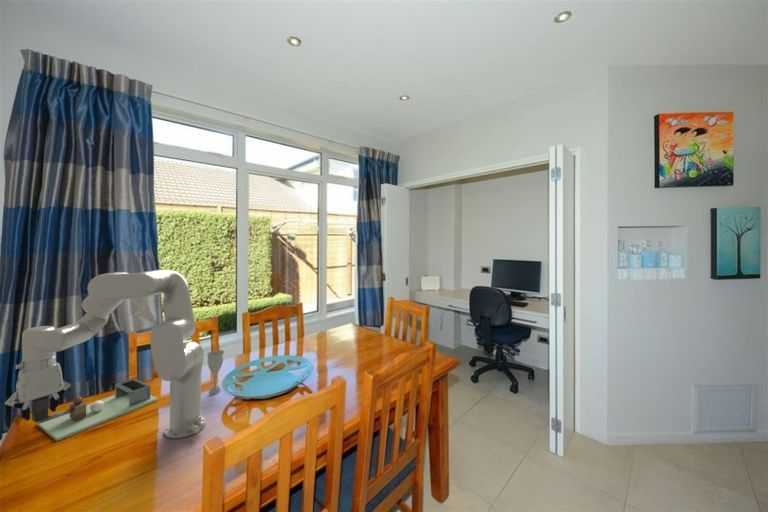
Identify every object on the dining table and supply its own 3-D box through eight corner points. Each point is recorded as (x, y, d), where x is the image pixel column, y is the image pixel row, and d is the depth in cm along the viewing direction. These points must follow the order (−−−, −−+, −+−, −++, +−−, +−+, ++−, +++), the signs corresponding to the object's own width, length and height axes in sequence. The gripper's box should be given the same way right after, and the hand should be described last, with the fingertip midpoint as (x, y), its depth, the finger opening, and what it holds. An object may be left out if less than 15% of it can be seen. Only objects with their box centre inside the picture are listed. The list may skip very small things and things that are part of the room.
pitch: (157, 400, 126) (157, 398, 126) (56, 441, 99) (56, 438, 99) (135, 389, 134) (135, 387, 134) (37, 424, 108) (37, 422, 107)
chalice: (215, 396, 131) (215, 356, 131) (202, 394, 133) (202, 354, 132) (227, 388, 139) (227, 350, 138) (214, 386, 140) (215, 349, 139)
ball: (106, 410, 116) (106, 400, 116) (92, 415, 113) (92, 405, 113) (101, 407, 118) (101, 397, 118) (88, 412, 115) (88, 402, 114)
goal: (150, 400, 126) (150, 384, 126) (130, 408, 120) (130, 391, 120) (134, 392, 132) (134, 377, 132) (114, 399, 126) (115, 383, 125)
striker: (86, 416, 111) (86, 387, 110) (36, 435, 100) (36, 402, 99) (80, 413, 113) (80, 383, 113) (31, 431, 102) (30, 398, 101)
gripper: (3, 375, 92) (3, 431, 93) (78, 357, 107) (78, 405, 108) (-5, 369, 95) (-4, 424, 96) (70, 353, 110) (70, 400, 111)
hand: (40, 414), depth 102 cm, fingers open, 5 cm apart
